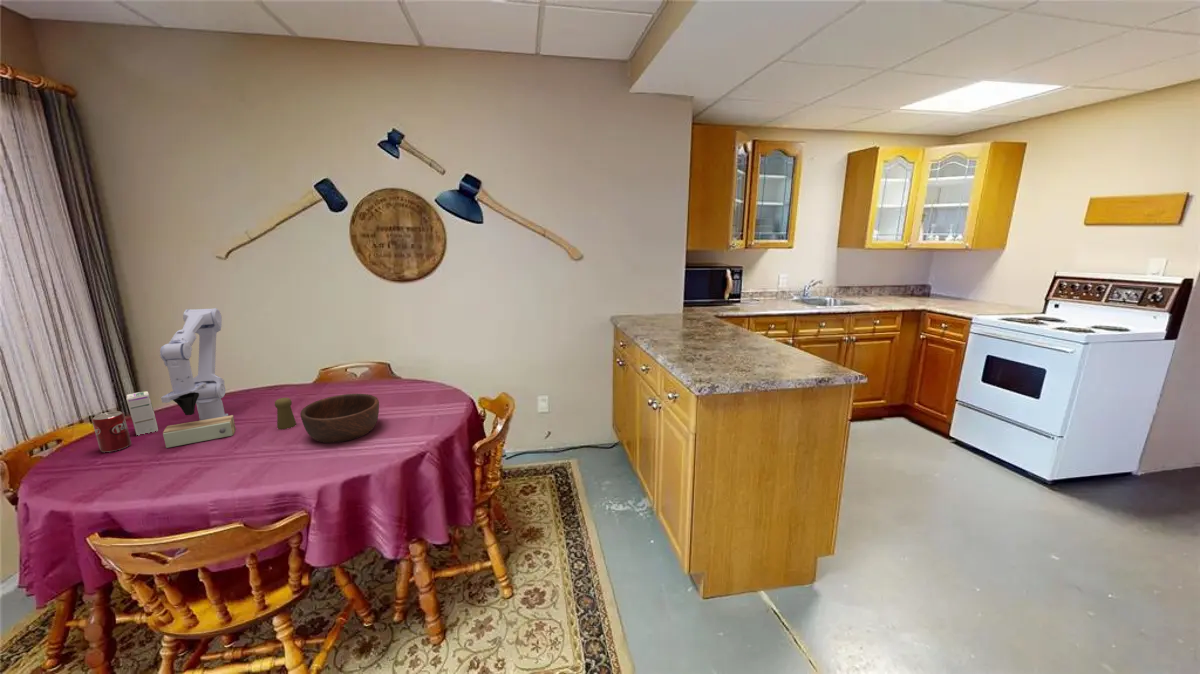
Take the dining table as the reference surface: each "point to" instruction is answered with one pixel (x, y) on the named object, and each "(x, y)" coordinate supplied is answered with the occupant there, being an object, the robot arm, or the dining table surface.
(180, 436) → the cabinet door
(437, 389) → the dining table surface
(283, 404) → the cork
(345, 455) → the dining table surface
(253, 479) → the dining table surface
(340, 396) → the wooden bowl
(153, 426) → the syrup box
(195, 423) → the cabinet
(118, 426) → the soda can
